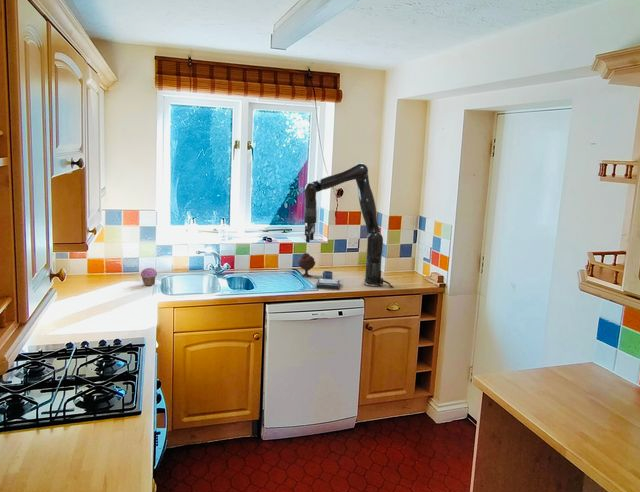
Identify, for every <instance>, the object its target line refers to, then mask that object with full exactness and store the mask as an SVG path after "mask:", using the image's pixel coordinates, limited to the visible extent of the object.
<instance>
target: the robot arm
mask: <svg viewBox="0 0 640 492" xmlns="http://www.w3.org/2000/svg"><path fill="white" fill-rule="evenodd" d="M354 180H355V182H356V185H357V191H358V193H357V195H358V202H359V206H360V213H361V215H362V219H363V220H364V223H365V229H366V239H367V244H366V247H367V248H366V259H365V278H364V285H365V286H368V287H381V285H384V283H385V284H387V285H388V286H389V287H390V288H394V285H392V284H391V283H390V282H389V281H387V280H384V277H382V261H383V260H382V256H383V247H384V237H383V234H382V232H381V230H380V227H379V223H378V212H377V211H378V210H377V206H376V201H375V196H374V193H373V191H372V188H371V185H370V178H369V168H368V166H367V165H366V163H363V162H358V163H356V164H355V165H354V166H351V167H350V168H348V169H346V170H344V171H342V172H338V173H334V174H330V175H328V176H325V177H322V178H320V179H318V180H315V181H311V182H308V183H307V184H306V185H305V186H304V212H303V213H304V215H303V221H304V223H305V224H306V225H305V226H304V236H305V243H310V242H311V241H314V234H316V224H317V220H318V219H317V218H318V217H317V214H318V213H317V212H318V211H317V205H318V204H317V193H318V192H321V191H324V190H328V189H331V188H333V187H336V186H340V185H342V184H343V183H346V182H349V181H354Z"/></svg>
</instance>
